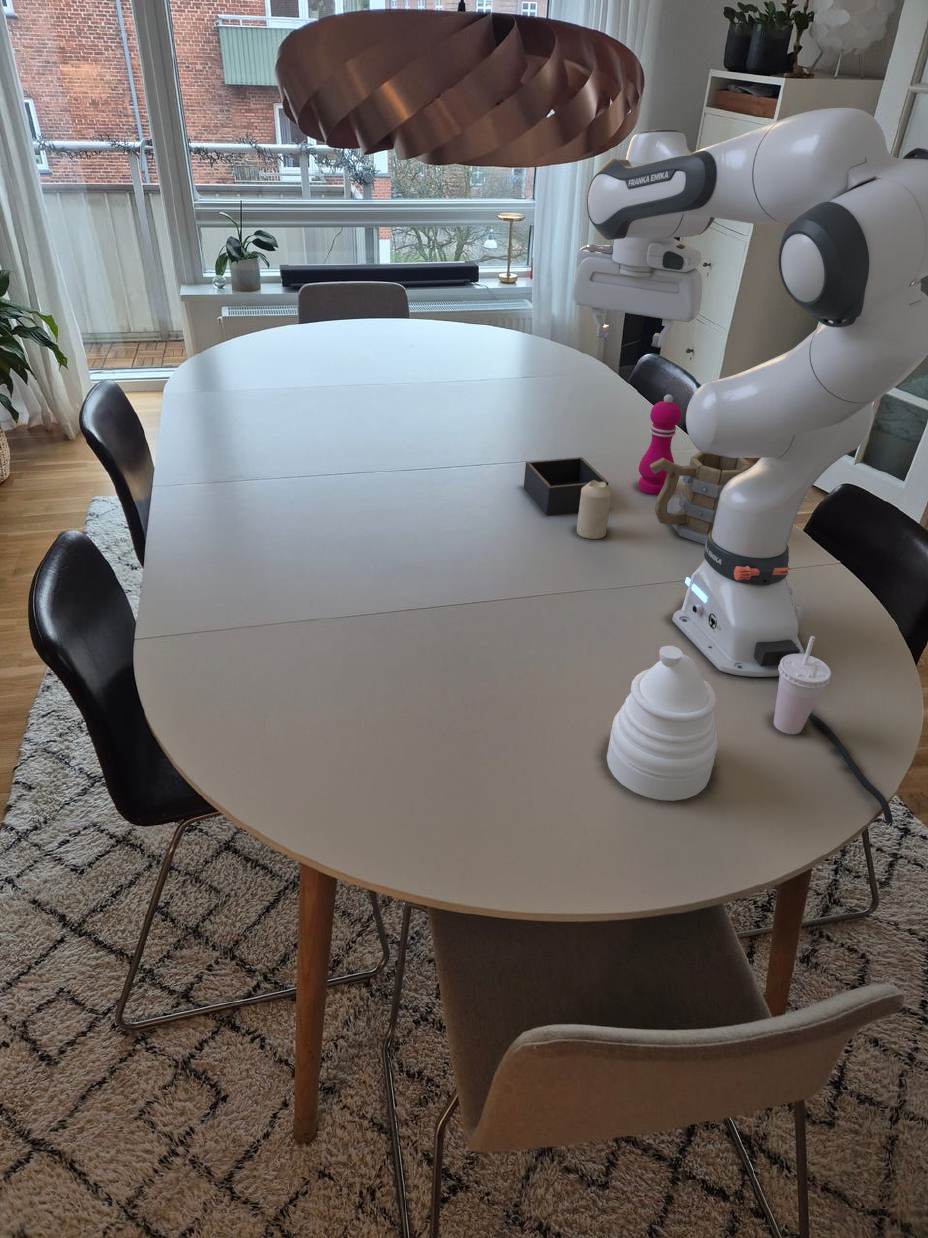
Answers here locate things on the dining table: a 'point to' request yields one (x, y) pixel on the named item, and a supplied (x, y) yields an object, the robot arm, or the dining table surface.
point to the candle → (594, 510)
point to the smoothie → (799, 689)
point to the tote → (559, 483)
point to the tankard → (696, 492)
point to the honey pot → (665, 731)
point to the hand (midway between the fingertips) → (629, 341)
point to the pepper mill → (659, 444)
